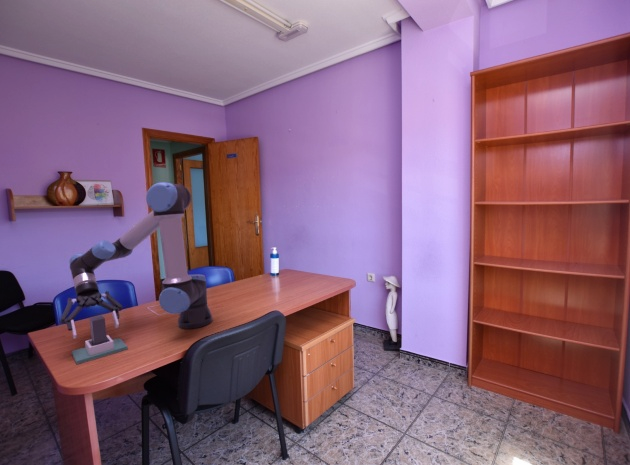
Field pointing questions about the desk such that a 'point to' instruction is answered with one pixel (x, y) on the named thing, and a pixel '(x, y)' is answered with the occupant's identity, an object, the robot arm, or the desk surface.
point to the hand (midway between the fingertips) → (97, 331)
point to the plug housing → (98, 330)
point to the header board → (98, 350)
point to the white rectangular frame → (154, 312)
